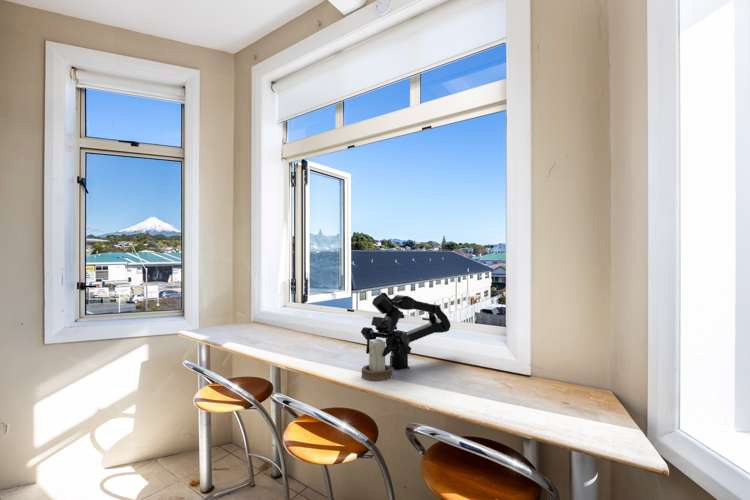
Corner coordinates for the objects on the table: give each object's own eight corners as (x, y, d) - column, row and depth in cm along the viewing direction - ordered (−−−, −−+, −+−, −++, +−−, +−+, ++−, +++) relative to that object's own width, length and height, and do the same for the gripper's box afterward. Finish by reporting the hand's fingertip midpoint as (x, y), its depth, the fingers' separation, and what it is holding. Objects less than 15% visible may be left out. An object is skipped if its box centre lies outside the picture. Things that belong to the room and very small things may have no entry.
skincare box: (368, 371, 141) (368, 339, 142) (379, 369, 143) (378, 338, 143) (375, 376, 136) (374, 342, 136) (386, 374, 137) (385, 341, 138)
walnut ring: (385, 370, 146) (385, 362, 146) (396, 378, 136) (396, 370, 136) (358, 373, 143) (358, 365, 143) (367, 382, 132) (367, 374, 132)
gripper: (363, 307, 149) (346, 339, 139) (402, 310, 138) (387, 345, 128) (374, 323, 155) (359, 355, 146) (413, 327, 144) (399, 362, 135)
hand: (375, 354), depth 138 cm, fingers closed on skincare box, 7 cm apart
